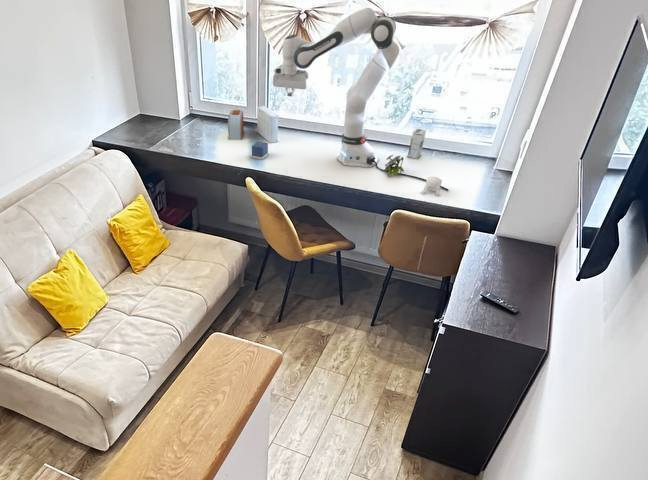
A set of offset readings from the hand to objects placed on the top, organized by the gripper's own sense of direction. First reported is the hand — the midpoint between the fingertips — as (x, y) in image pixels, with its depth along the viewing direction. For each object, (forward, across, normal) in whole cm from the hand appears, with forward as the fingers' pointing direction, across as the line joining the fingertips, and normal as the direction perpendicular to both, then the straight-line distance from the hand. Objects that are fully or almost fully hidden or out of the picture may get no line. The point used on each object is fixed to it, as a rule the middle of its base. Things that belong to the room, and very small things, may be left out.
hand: (290, 96), depth 302 cm
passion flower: (+33, -64, +3) cm, 73 cm away
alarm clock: (+32, +44, -13) cm, 55 cm away
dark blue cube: (+25, +14, +12) cm, 31 cm away
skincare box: (+32, +24, -18) cm, 43 cm away
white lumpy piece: (+34, -88, +18) cm, 96 cm away
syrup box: (+34, -68, -23) cm, 80 cm away
